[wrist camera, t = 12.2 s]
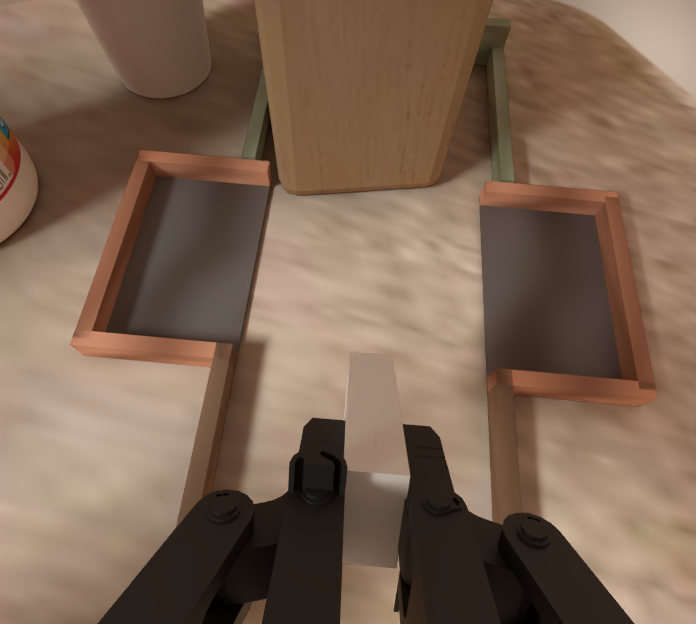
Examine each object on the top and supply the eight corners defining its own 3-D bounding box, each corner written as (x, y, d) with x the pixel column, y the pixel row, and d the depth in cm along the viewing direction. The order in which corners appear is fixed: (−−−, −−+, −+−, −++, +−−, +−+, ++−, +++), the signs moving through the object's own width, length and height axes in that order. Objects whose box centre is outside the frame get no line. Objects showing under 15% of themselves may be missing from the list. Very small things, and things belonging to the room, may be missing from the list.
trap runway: (-2, 608, 20) (-54, 618, 18) (193, 32, 36) (183, -9, 33) (687, 673, 20) (743, 693, 17) (578, 66, 36) (599, 27, 33)
